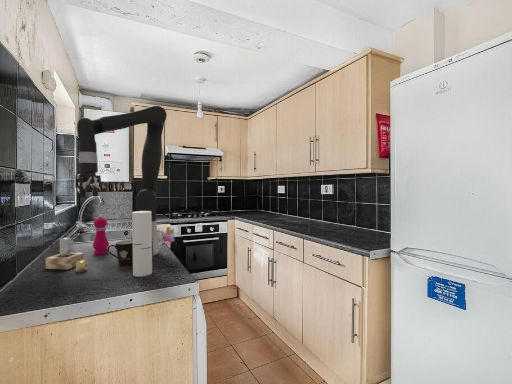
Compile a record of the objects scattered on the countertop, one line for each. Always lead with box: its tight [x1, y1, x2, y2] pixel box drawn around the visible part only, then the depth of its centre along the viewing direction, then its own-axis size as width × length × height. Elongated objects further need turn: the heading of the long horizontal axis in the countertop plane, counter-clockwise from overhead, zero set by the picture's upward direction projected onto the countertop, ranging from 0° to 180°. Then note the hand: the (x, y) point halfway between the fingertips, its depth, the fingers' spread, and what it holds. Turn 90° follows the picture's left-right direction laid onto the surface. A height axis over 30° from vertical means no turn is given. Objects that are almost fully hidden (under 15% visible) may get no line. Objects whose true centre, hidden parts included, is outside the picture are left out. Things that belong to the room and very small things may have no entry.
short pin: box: [75, 259, 88, 273], centre depth 114 cm, size 4×4×4 cm
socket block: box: [45, 251, 86, 270], centre depth 121 cm, size 10×10×4 cm
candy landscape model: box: [130, 226, 175, 246], centre depth 168 cm, size 25×24×9 cm
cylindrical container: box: [131, 211, 153, 277], centre depth 110 cm, size 7×7×25 cm
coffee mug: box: [107, 239, 133, 267], centre depth 123 cm, size 12×9×10 cm
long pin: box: [59, 237, 72, 257], centre depth 120 cm, size 4×4×12 cm
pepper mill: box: [92, 214, 110, 256], centre depth 141 cm, size 7×7×20 cm
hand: (89, 197), depth 128 cm, fingers open, 8 cm apart
